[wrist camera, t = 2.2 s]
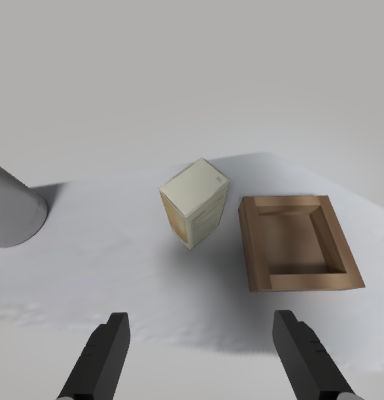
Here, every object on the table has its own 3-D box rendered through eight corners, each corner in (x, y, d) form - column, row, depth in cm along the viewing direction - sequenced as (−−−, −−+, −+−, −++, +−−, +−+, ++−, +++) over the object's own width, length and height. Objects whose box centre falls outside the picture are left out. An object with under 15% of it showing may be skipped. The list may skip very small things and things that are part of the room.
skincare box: (200, 206, 32) (204, 153, 21) (219, 224, 30) (234, 178, 19) (169, 231, 30) (155, 187, 19) (188, 252, 28) (184, 217, 17)
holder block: (250, 291, 25) (258, 289, 22) (238, 209, 31) (243, 197, 28) (342, 290, 25) (365, 287, 22) (312, 208, 31) (327, 195, 28)
